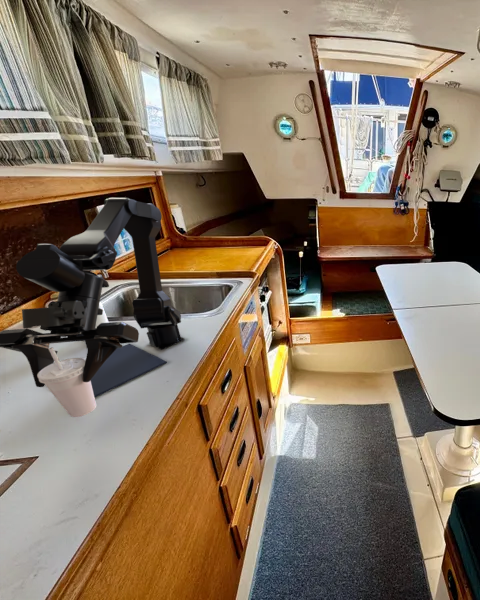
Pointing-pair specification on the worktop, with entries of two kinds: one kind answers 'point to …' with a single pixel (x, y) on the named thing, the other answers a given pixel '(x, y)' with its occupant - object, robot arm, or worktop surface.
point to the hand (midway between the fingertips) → (63, 384)
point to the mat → (123, 368)
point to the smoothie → (69, 385)
